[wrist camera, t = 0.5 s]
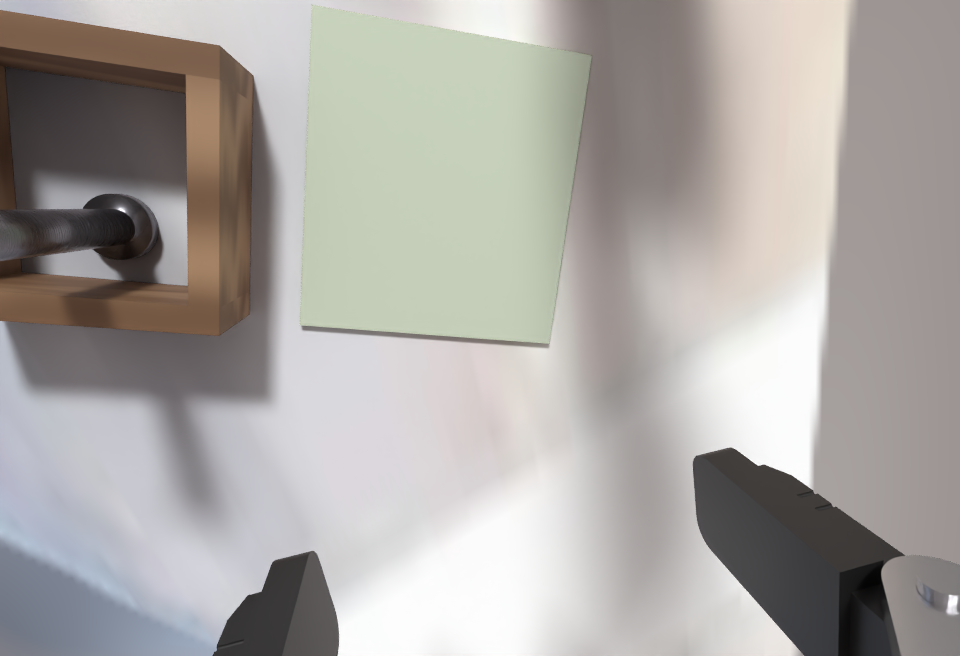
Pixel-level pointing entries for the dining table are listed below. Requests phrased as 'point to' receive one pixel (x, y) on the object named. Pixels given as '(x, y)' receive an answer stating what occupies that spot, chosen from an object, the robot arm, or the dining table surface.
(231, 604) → the dining table surface
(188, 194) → the walnut frame
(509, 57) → the sage mat
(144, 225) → the metal dumbbell
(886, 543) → the robot arm
